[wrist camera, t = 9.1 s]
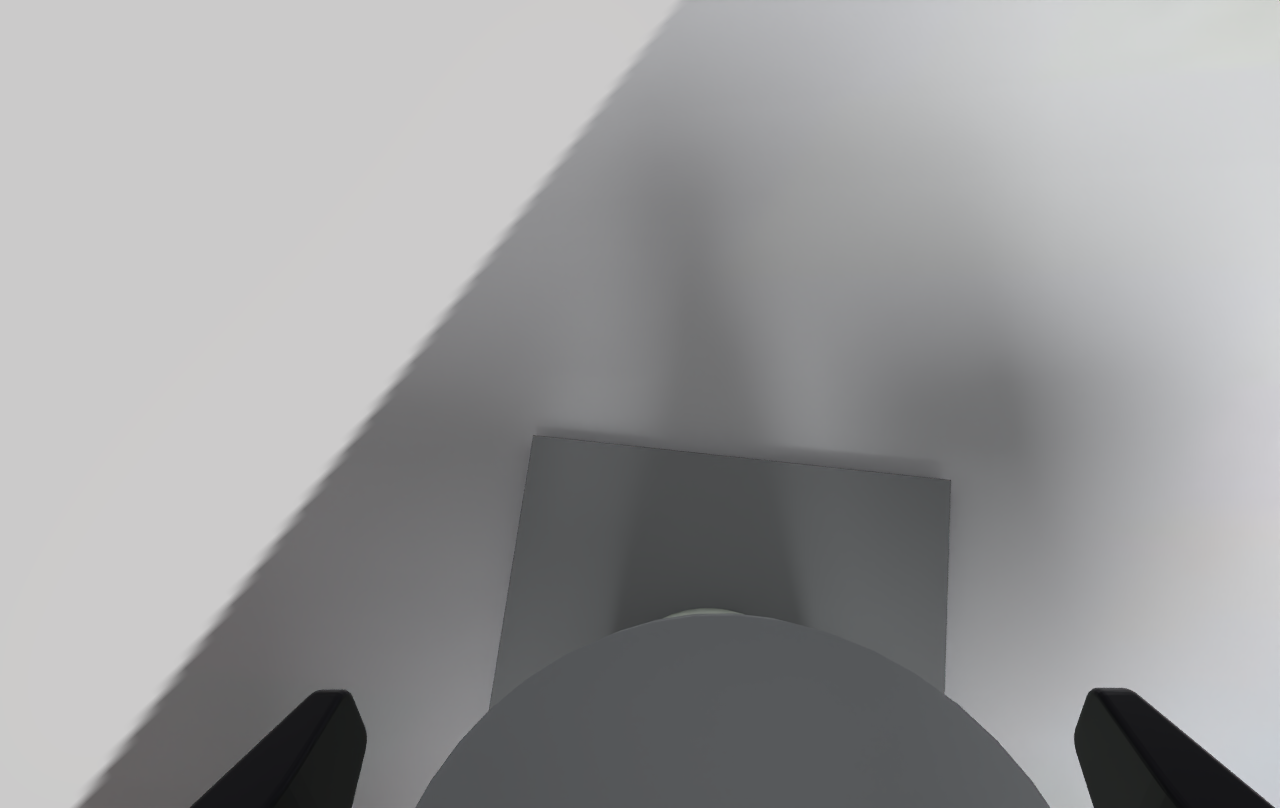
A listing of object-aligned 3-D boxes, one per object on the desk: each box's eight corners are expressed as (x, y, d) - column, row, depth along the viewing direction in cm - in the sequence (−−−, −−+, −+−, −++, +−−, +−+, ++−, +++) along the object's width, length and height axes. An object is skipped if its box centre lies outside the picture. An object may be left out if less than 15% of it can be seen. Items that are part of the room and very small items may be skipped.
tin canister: (859, 828, 16) (1284, 1444, 4) (620, 879, 16) (408, 1616, 4) (794, 581, 17) (983, 548, 6) (574, 630, 17) (321, 696, 6)
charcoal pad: (925, 1069, 15) (932, 1085, 15) (451, 976, 16) (444, 988, 16) (944, 483, 18) (950, 480, 17) (537, 439, 19) (533, 435, 19)
